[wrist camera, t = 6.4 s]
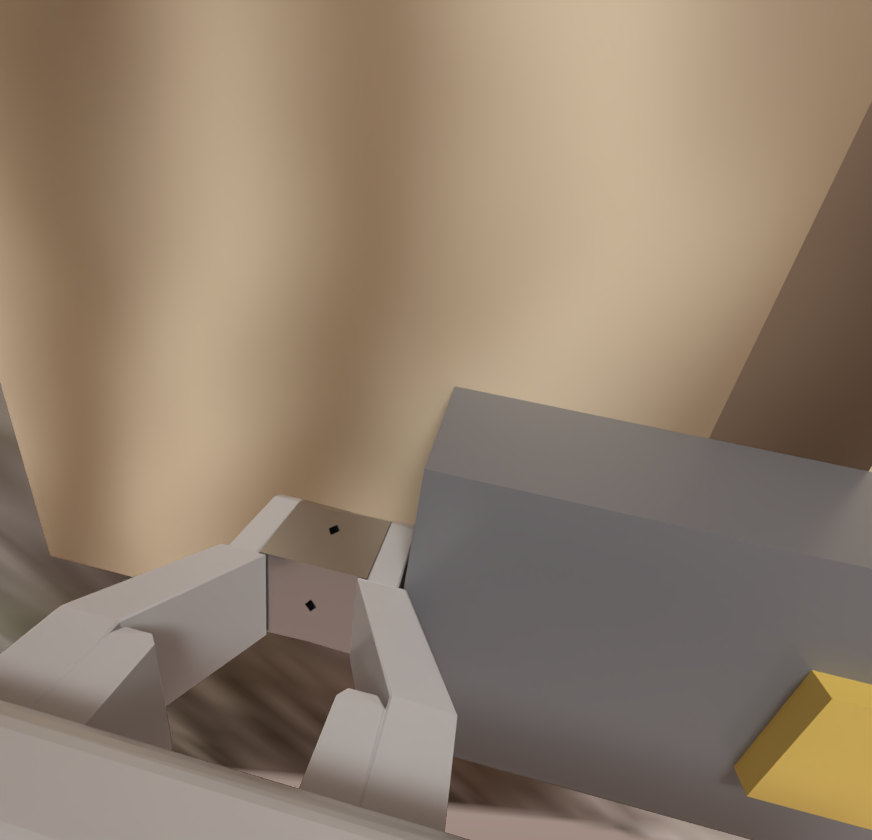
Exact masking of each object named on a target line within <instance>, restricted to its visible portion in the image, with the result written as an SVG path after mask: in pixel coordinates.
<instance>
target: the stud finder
mask: <svg viewBox="0 0 872 840" xmlns="http://www.w3.org/2000/svg"><path fill="white" fill-rule="evenodd" d="M404 590H406V591H407V593H408V596H409V598H410V601H411V603H412V605H413V608H414V610H415V613H416V615H417V618H418V620H419V623H420V625H421V628H422V630H423V632H424V635H425V637H426V640H427V642H428V645H429V647H430V650H431V652H432V655H433V657H434V660H435V662H436V664H437V667H438V669H439V672H440V674H441V677H442V679H443V682H444V684H445V687H446V689H447V691H448V694H449V696H450V699H451V701H452V704H453V706H454V709H455V711H456V714H457V724H456V733H455V742H454V751H453V757H455V758H459V759H462V760H466V761H470V762H473V763H477V764H480V765H484V766H488V767H491V768H495V769H498V770H502V771H506V772H509V773H513V774H516V775H520V776H524V777H527V778H531V779H534V780H538V781H542V782H545V783H549V784H552V785H556V786H560V787H563V788H567V789H570V790H574V791H578V792H581V793H585V794H588V795H592V796H596V797H599V798H603V799H606V800H610V801H614V802H617V803H621V804H624V805H628V806H632V807H635V808H639V809H642V810H646V811H650V812H653V813H657V814H660V815H664V816H668V817H671V818H675V819H678V820H682V821H686V822H689V823H693V824H696V825H700V826H704V827H707V828H711V829H714V830H718V831H722V832H725V833H729V834H732V835H736V836H740V837H743V838H747V839H750V840H872V472H869V471H864V470H859V469H855V468H850V467H845V466H840V465H835V464H830V463H825V462H821V461H816V460H811V459H806V458H801V457H796V456H791V455H787V454H782V453H777V452H772V451H767V450H762V449H757V448H753V447H748V446H743V445H738V444H733V443H728V442H723V441H719V440H714V439H709V438H704V437H699V436H694V435H689V434H685V433H680V432H675V431H670V430H665V429H660V428H655V427H651V426H646V425H641V424H636V423H631V422H626V421H621V420H616V419H612V418H607V417H602V416H597V415H592V414H587V413H582V412H578V411H573V410H568V409H563V408H558V407H553V406H548V405H544V404H539V403H534V402H529V401H524V400H519V399H514V398H510V397H505V396H500V395H495V394H490V393H485V392H480V391H476V390H471V389H466V388H461V387H456V386H455V387H454V390H453V393H452V395H451V398H450V401H449V403H448V406H447V409H446V412H445V414H444V417H443V420H442V422H441V425H440V428H439V431H438V433H437V436H436V439H435V441H434V444H433V447H432V450H431V452H430V455H429V458H428V460H427V463H426V466H425V469H424V474H423V480H422V486H421V491H420V497H419V503H418V509H417V515H416V520H415V526H414V532H413V538H412V543H411V549H410V555H409V561H408V567H407V572H406V578H405V584H404Z"/></svg>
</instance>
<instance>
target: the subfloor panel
mask: <svg viewBox="0 0 872 840" xmlns="http://www.w3.org/2000/svg"><path fill="white" fill-rule="evenodd" d="M0 383H1V386H2V390H3V393H4V397H5V400H6V403H7V407H8V410H9V414H10V417H11V421H12V424H13V428H14V431H15V435H16V438H17V442H18V445H19V449H20V452H21V455H22V459H23V462H24V466H25V469H26V473H27V476H28V480H29V483H30V487H31V490H32V494H33V497H34V501H35V504H36V507H37V511H38V514H39V518H40V521H41V525H42V528H43V532H44V535H45V539H46V542H47V546H48V549H49V553H50V556H54V557H58V558H61V559H65V560H69V561H73V562H77V563H81V564H85V565H88V566H92V567H96V568H100V569H104V570H108V571H112V572H115V573H119V574H123V575H127V576H131V577H136V576H138V575H141V574H144V573H146V572H149V571H151V570H154V569H156V568H159V567H162V566H164V565H167V564H169V563H172V562H175V561H177V560H180V559H182V558H185V557H188V556H190V555H193V554H195V553H198V552H201V551H203V550H206V549H208V548H211V547H213V546H216V545H219V544H225V545H229V544H230V543H231V542H232V541H233V540H234V539H235V538H236V537H237V536H238V535H239V534H240V533H241V532H242V530H243V529H244V528H245V527H246V526H247V525H248V524H249V523H250V522H251V521H252V520H253V519H254V518H255V517H256V515H257V514H258V513H259V512H260V511H261V510H262V509H263V508H264V507H265V506H266V505H267V504H268V503H269V502H270V500H271V499H272V498H273V497H275V496H276V495H279V494H283V495H287V496H291V497H295V498H299V499H302V500H308V501H312V502H316V503H320V504H323V505H327V506H331V507H335V508H339V509H342V510H346V511H350V512H353V513H358V514H362V515H366V516H371V517H375V518H379V519H383V520H388V521H392V522H393V521H395V522H400V523H405V524H410V525H414V526H415V520H416V515H417V509H418V503H419V497H420V491H421V486H422V480H423V474H424V469H425V466H426V463H427V460H428V458H429V455H430V452H431V450H432V447H433V444H434V441H435V439H436V436H437V433H438V431H439V428H440V425H441V422H442V420H443V417H444V414H445V412H446V409H447V406H448V403H449V401H450V398H451V395H452V393H453V390H454V387H455V386H456V387H461V388H466V389H471V390H476V391H480V392H485V393H490V394H495V395H500V396H505V397H510V398H514V399H519V400H524V401H529V402H534V403H539V404H544V405H548V406H553V407H558V408H563V409H568V410H573V411H578V412H582V413H587V414H592V415H597V416H602V417H607V418H612V419H616V420H621V421H626V422H631V423H636V424H641V425H646V426H651V427H655V428H660V429H665V430H670V431H675V432H680V433H685V434H689V435H694V436H699V437H704V438H709V439H714V440H719V441H723V442H728V443H733V444H738V445H743V446H748V447H753V448H757V449H762V450H767V451H772V452H777V453H782V454H787V455H791V456H796V457H801V458H806V459H811V460H816V461H821V462H825V463H830V464H835V465H840V466H845V467H850V468H855V469H859V470H864V471H869V472H872V0H0Z"/></svg>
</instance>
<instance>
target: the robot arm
mask: <svg viewBox="0 0 872 840" xmlns="http://www.w3.org/2000/svg"><path fill="white" fill-rule="evenodd" d="M413 532H414V525H410V524H405V523H400V522H395V521H393V522H392V521H388V520H383V519H379V518H375V517H371V516H366V515H362V514H358V513H353V512H350V511H346V510H342V509H339V508H335V507H331V506H327V505H323V504H320V503H316V502H312V501H308V500H302V499H299V498H295V497H291V496H287V495H283V494H279V495H276V496H275V497H273V498H272V499H271V500H270V502H269V503H268V504H267V505H266V506H265V507H264V508H263V509H262V510H261V511H260V512H259V513H258V514H257V515H256V517H255V518H254V519H253V520H252V521H251V522H250V523H249V524H248V525H247V526H246V527H245V528H244V529H243V530H242V532H241V533H240V534H239V535H238V536H237V537H236V538H235V539H234V540H233V541H232V542H231V543H230V544H229V545H225V544H219V545H216V546H213V547H211V548H208V549H206V550H203V551H201V552H198V553H195V554H193V555H190V556H188V557H185V558H182V559H180V560H177V561H175V562H172V563H169V564H167V565H164V566H162V567H159V568H156V569H154V570H151V571H149V572H146V573H144V574H141V575H138V576H136V577H133V578H131V579H128V580H125V581H123V582H120V583H118V584H115V585H112V586H110V587H107V588H105V589H102V590H100V591H97V592H94V593H92V594H89V595H87V596H84V597H81V598H79V599H76V600H74V601H71V602H68V603H66V604H63V605H61V606H59V607H58V608H57V609H56V610H54V611H53V612H52V613H51V614H49V615H48V616H47V617H46V618H44V619H43V620H42V621H41V622H39V623H38V624H37V625H36V626H35V627H33V628H32V629H31V630H30V631H28V632H27V633H26V634H25V635H23V636H22V637H21V638H20V639H18V640H17V641H16V642H15V643H13V644H12V645H11V646H10V647H8V648H7V649H6V650H5V651H4V652H2V653H1V654H0V840H469V839H465V838H462V837H459V836H455V835H452V834H449V833H445V824H446V815H447V806H448V797H449V788H450V778H451V769H452V760H453V751H454V742H455V733H456V724H457V714H456V711H455V709H454V706H453V704H452V701H451V699H450V696H449V694H448V691H447V689H446V687H445V684H444V682H443V679H442V677H441V674H440V672H439V669H438V667H437V664H436V662H435V660H434V657H433V655H432V652H431V650H430V647H429V645H428V642H427V640H426V637H425V635H424V632H423V630H422V628H421V625H420V623H419V620H418V618H417V615H416V613H415V610H414V608H413V605H412V603H411V601H410V598H409V596H408V593H407V591H406V590H404V584H405V578H406V572H407V567H408V561H409V555H410V549H411V543H412V538H413ZM267 632H270V633H275V634H279V635H283V636H288V637H292V638H296V639H300V640H305V641H309V642H312V643H315V644H319V645H322V646H325V647H329V648H332V649H335V650H339V651H342V652H345V653H349V654H350V655H349V657H350V663H351V669H352V675H353V680H354V686H355V690H354V689H350V688H348V689H346V690H344V691H342V692H341V693H339V694H337V695H336V697H335V700H334V702H333V705H332V707H331V710H330V712H329V715H328V717H327V720H326V722H325V725H324V727H323V730H322V732H321V735H320V737H319V740H318V742H317V745H316V747H315V750H314V752H313V755H312V757H311V760H310V762H309V765H308V767H307V770H306V772H305V775H304V777H303V780H302V782H301V785H300V787H299V789H298V788H295V787H291V786H288V785H284V784H281V783H278V782H275V781H271V780H268V779H265V778H261V777H258V776H255V775H251V774H248V773H245V772H241V771H238V770H235V769H231V768H228V767H225V766H221V765H218V764H215V763H211V762H208V761H205V760H201V759H198V758H194V757H191V756H188V755H184V754H181V753H178V752H174V751H171V749H172V739H171V732H170V727H169V721H168V716H167V710H166V706H167V705H169V704H170V703H171V702H173V701H174V700H176V699H177V698H178V697H180V696H181V695H183V694H184V693H185V692H187V691H188V690H190V689H191V688H192V687H194V686H195V685H197V684H198V683H199V682H201V681H202V680H204V679H205V678H206V677H208V676H209V675H211V674H212V673H213V672H215V671H216V670H218V669H219V668H220V667H222V666H223V665H225V664H226V663H227V662H229V661H230V660H232V659H233V658H234V657H236V656H237V655H239V654H240V653H241V652H243V651H244V650H246V649H247V648H248V647H250V646H251V645H253V644H254V643H255V642H257V641H258V640H260V639H261V638H262V637H264V636H265V635H266V634H267Z"/></svg>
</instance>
